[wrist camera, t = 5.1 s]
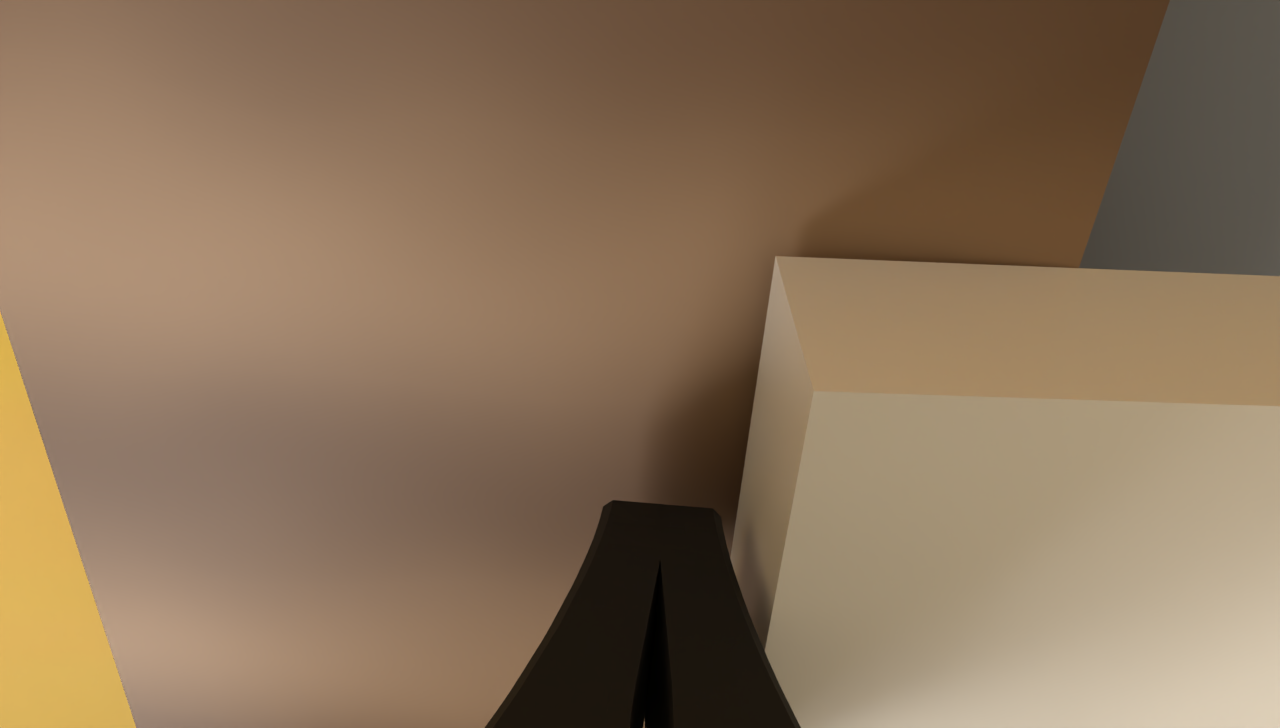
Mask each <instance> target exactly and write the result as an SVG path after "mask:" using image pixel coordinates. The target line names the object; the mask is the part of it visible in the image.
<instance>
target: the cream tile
mask: <svg viewBox="0 0 1280 728" xmlns="http://www.w3.org/2000/svg"><path fill="white" fill-rule="evenodd" d="M730 559H731V562H732V565H733V569H734V572H735V575H736V578H737V581H738V584H739V587H740V590H741V593H742V596H743V598H744V601H745V604H746V606H747V609H748V612H749V614H750V617H751V620H752V622H753V624H754V627H755V629H756V632H757V634H758V636H759V639H760V641H761V643H762V646H763V648H764V651H765V653H766V655H767V658H768V660H769V663H770V665H771V667H772V669H773V671H774V673H775V676H776V678H777V680H778V682H779V684H780V686H781V689H782V691H783V693H784V695H785V697H786V699H787V701H788V703H789V705H790V707H791V709H792V711H793V713H794V715H795V717H796V719H797V721H798V723H799V725H800V727H801V728H1280V276H1262V275H1237V274H1212V273H1187V272H1162V271H1137V270H1112V269H1086V268H1061V267H1036V266H1011V265H986V264H961V263H936V262H911V261H886V260H861V259H836V258H811V257H785V256H775V263H774V270H773V276H772V283H771V290H770V296H769V303H768V310H767V316H766V323H765V330H764V336H763V343H762V350H761V356H760V363H759V370H758V376H757V383H756V390H755V397H754V403H753V410H752V417H751V423H750V430H749V437H748V443H747V450H746V457H745V463H744V470H743V477H742V483H741V490H740V497H739V503H738V510H737V517H736V524H735V530H734V537H733V544H732V550H731V557H730Z"/></svg>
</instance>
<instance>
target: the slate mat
mask: <svg viewBox="0 0 1280 728" xmlns="http://www.w3.org/2000/svg"><path fill="white" fill-rule="evenodd" d="M1079 268H1086V269H1112V270H1137V271H1162V272H1187V273H1212V274H1237V275H1262V276H1280V0H1170V2H1169V5H1168V7H1167V10H1166V13H1165V16H1164V19H1163V22H1162V25H1161V28H1160V31H1159V34H1158V37H1157V40H1156V43H1155V46H1154V49H1153V51H1152V54H1151V57H1150V60H1149V63H1148V66H1147V69H1146V72H1145V75H1144V78H1143V81H1142V84H1141V87H1140V90H1139V93H1138V95H1137V98H1136V101H1135V104H1134V107H1133V110H1132V113H1131V116H1130V119H1129V122H1128V125H1127V128H1126V131H1125V134H1124V137H1123V139H1122V142H1121V145H1120V148H1119V151H1118V154H1117V157H1116V160H1115V163H1114V166H1113V169H1112V172H1111V175H1110V178H1109V181H1108V183H1107V186H1106V189H1105V192H1104V195H1103V198H1102V201H1101V204H1100V207H1099V210H1098V213H1097V216H1096V219H1095V222H1094V225H1093V227H1092V230H1091V233H1090V236H1089V239H1088V242H1087V245H1086V248H1085V251H1084V254H1083V257H1082V260H1081V263H1080V266H1079Z"/></svg>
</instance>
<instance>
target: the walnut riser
mask: <svg viewBox="0 0 1280 728" xmlns="http://www.w3.org/2000/svg"><path fill="white" fill-rule="evenodd" d="M1169 2H1170V0H0V312H1V315H2V318H3V321H4V324H5V327H6V330H7V333H8V336H9V339H10V342H11V345H12V348H13V351H14V354H15V358H16V361H17V364H18V367H19V370H20V373H21V376H22V379H23V382H24V385H25V388H26V391H27V394H28V397H29V400H30V403H31V406H32V410H33V413H34V416H35V419H36V422H37V425H38V428H39V431H40V434H41V437H42V440H43V443H44V446H45V449H46V452H47V455H48V459H49V462H50V465H51V468H52V471H53V474H54V477H55V480H56V483H57V486H58V489H59V492H60V495H61V498H62V501H63V504H64V507H65V511H66V514H67V517H68V520H69V523H70V526H71V529H72V532H73V535H74V538H75V541H76V544H77V547H78V550H79V553H80V556H81V559H82V563H83V566H84V569H85V572H86V575H87V578H88V581H89V584H90V587H91V590H92V593H93V596H94V599H95V602H96V605H97V608H98V611H99V615H100V618H101V621H102V624H103V627H104V630H105V633H106V636H107V639H108V642H109V645H110V648H111V651H112V654H113V657H114V660H115V663H116V667H117V670H118V673H119V676H120V679H121V682H122V685H123V688H124V691H125V694H126V697H127V700H128V703H129V706H130V709H131V712H132V715H133V719H134V722H135V725H136V728H485V726H486V725H487V724H488V722H489V721H490V720H491V718H492V717H493V715H494V714H495V713H496V711H497V710H498V708H499V707H500V705H501V704H502V702H503V701H504V700H505V698H506V697H507V695H508V694H509V692H510V691H511V689H512V688H513V686H514V685H515V683H516V681H517V680H518V678H519V677H520V675H521V673H522V672H523V670H524V669H525V667H526V665H527V664H528V662H529V661H530V659H531V658H532V656H533V654H534V653H535V651H536V650H537V648H538V646H539V645H540V643H541V642H542V640H543V638H544V637H545V635H546V633H547V631H548V630H549V628H550V626H551V624H552V622H553V620H554V619H555V617H556V615H557V613H558V611H559V609H560V607H561V606H562V604H563V602H564V600H565V598H566V596H567V594H568V593H569V591H570V589H571V587H572V585H573V583H574V581H575V579H576V577H577V575H578V572H579V570H580V568H581V566H582V564H583V562H584V560H585V557H586V555H587V553H588V550H589V548H590V545H591V543H592V540H593V538H594V535H595V532H596V529H597V526H598V523H599V520H600V516H601V512H602V508H603V506H604V505H606V504H608V503H609V502H611V501H612V500H619V501H631V502H643V503H655V504H667V505H678V506H690V507H702V508H713V509H714V510H715V511H716V512H717V513H718V514H719V515H720V516H721V519H722V526H723V531H724V535H725V540H726V544H727V548H728V552H729V555H730V557H731V550H732V544H733V537H734V530H735V524H736V517H737V510H738V503H739V497H740V490H741V483H742V477H743V470H744V463H745V457H746V450H747V443H748V437H749V430H750V423H751V417H752V410H753V403H754V397H755V390H756V383H757V376H758V370H759V363H760V356H761V350H762V343H763V336H764V330H765V323H766V316H767V310H768V303H769V296H770V290H771V283H772V276H773V270H774V263H775V256H785V257H811V258H836V259H861V260H886V261H911V262H936V263H961V264H986V265H1011V266H1036V267H1061V268H1079V266H1080V263H1081V260H1082V257H1083V254H1084V251H1085V248H1086V245H1087V242H1088V239H1089V236H1090V233H1091V230H1092V227H1093V225H1094V222H1095V219H1096V216H1097V213H1098V210H1099V207H1100V204H1101V201H1102V198H1103V195H1104V192H1105V189H1106V186H1107V183H1108V181H1109V178H1110V175H1111V172H1112V169H1113V166H1114V163H1115V160H1116V157H1117V154H1118V151H1119V148H1120V145H1121V142H1122V139H1123V137H1124V134H1125V131H1126V128H1127V125H1128V122H1129V119H1130V116H1131V113H1132V110H1133V107H1134V104H1135V101H1136V98H1137V95H1138V93H1139V90H1140V87H1141V84H1142V81H1143V78H1144V75H1145V72H1146V69H1147V66H1148V63H1149V60H1150V57H1151V54H1152V51H1153V49H1154V46H1155V43H1156V40H1157V37H1158V34H1159V31H1160V28H1161V25H1162V22H1163V19H1164V16H1165V13H1166V10H1167V7H1168V5H1169ZM643 728H645V719H644V726H643Z"/></svg>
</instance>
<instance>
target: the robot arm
mask: <svg viewBox="0 0 1280 728" xmlns="http://www.w3.org/2000/svg"><path fill="white" fill-rule="evenodd" d="M644 719H645V728H801V727H800V725H799V723H798V721H797V719H796V717H795V715H794V713H793V711H792V709H791V707H790V705H789V703H788V701H787V699H786V697H785V695H784V693H783V691H782V689H781V686H780V684H779V682H778V680H777V678H776V676H775V673H774V671H773V669H772V667H771V665H770V663H769V660H768V658H767V655H766V653H765V651H764V648H763V646H762V643H761V641H760V639H759V636H758V634H757V632H756V629H755V627H754V624H753V622H752V620H751V617H750V614H749V612H748V609H747V606H746V604H745V601H744V598H743V596H742V593H741V590H740V587H739V584H738V581H737V578H736V575H735V572H734V569H733V565H732V562H731V559H730V555H729V552H728V548H727V544H726V540H725V535H724V531H723V526H722V519H721V516H720V515H719V514H718V513H717V512H716V511H715V510H714V509H713V508H702V507H690V506H678V505H667V504H655V503H643V502H631V501H619V500H612V501H611V502H609V503H608V504H606V505H604V506H603V508H602V512H601V516H600V520H599V523H598V526H597V529H596V532H595V535H594V538H593V540H592V543H591V545H590V548H589V550H588V553H587V555H586V557H585V560H584V562H583V564H582V566H581V568H580V570H579V572H578V575H577V577H576V579H575V581H574V583H573V585H572V587H571V589H570V591H569V593H568V594H567V596H566V598H565V600H564V602H563V604H562V606H561V607H560V609H559V611H558V613H557V615H556V617H555V619H554V620H553V622H552V624H551V626H550V628H549V630H548V631H547V633H546V635H545V637H544V638H543V640H542V642H541V643H540V645H539V646H538V648H537V650H536V651H535V653H534V654H533V656H532V658H531V659H530V661H529V662H528V664H527V665H526V667H525V669H524V670H523V672H522V673H521V675H520V677H519V678H518V680H517V681H516V683H515V685H514V686H513V688H512V689H511V691H510V692H509V694H508V695H507V697H506V698H505V700H504V701H503V702H502V704H501V705H500V707H499V708H498V710H497V711H496V713H495V714H494V715H493V717H492V718H491V720H490V721H489V722H488V724H487V725H486V726H485V728H643V726H644Z"/></svg>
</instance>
